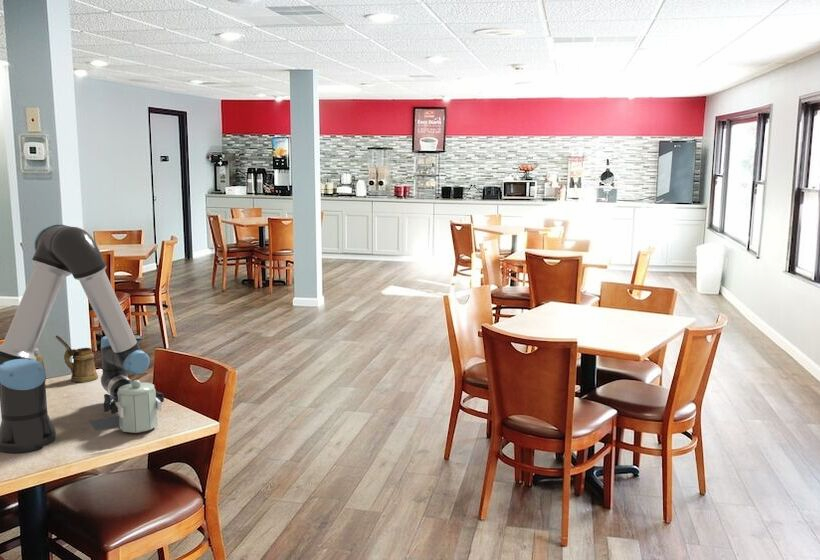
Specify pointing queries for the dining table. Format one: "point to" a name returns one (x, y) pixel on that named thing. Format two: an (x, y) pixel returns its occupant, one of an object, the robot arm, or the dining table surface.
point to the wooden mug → (80, 363)
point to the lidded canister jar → (137, 406)
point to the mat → (105, 423)
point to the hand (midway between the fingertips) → (141, 409)
